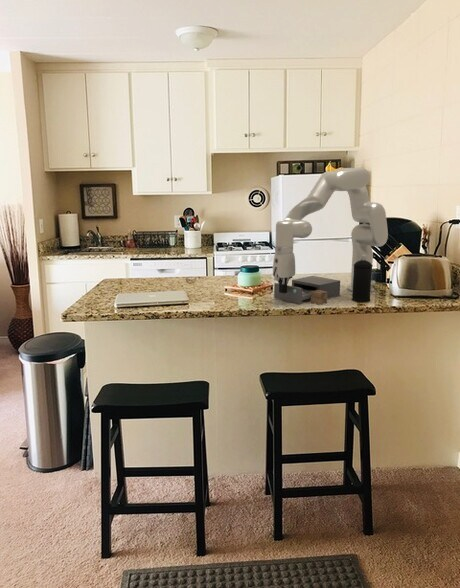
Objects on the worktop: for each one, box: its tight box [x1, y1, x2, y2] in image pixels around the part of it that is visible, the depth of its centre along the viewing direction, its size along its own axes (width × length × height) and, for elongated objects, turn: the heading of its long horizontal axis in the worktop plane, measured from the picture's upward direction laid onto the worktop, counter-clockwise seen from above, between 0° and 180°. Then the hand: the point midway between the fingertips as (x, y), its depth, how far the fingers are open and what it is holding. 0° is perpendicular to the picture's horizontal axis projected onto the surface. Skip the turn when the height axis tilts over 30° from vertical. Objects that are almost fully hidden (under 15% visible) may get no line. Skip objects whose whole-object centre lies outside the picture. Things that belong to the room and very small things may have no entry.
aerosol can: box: [351, 255, 374, 303], centre depth 226 cm, size 8×8×20 cm
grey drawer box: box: [291, 275, 341, 299], centre depth 238 cm, size 15×16×7 cm
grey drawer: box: [273, 282, 312, 305], centre depth 229 cm, size 16×15×7 cm
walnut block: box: [309, 290, 328, 305], centre depth 223 cm, size 5×5×5 cm
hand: (283, 292), depth 222 cm, fingers closed
